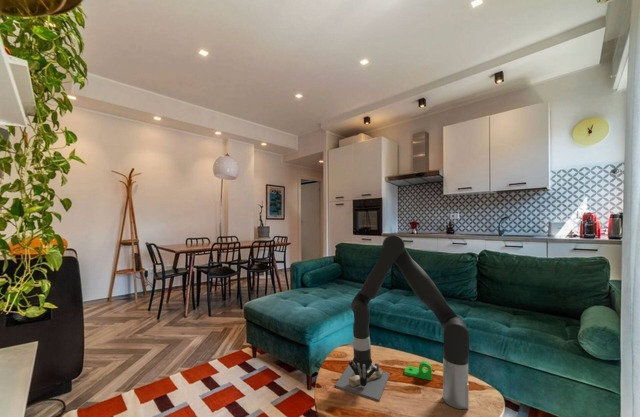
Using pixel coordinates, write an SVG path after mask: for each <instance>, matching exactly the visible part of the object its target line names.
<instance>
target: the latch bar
mask: <svg viewBox="0 0 640 417" xmlns="http://www.w3.org/2000/svg"><path fill="white" fill-rule="evenodd" d="M374 365H377V369H376V371H375V372H374V373H373V374H372V375H371V376H370V378H367V381H369V380H372V379H375V378H380V377H381V376H382V371H383V369H382V368H380V365H379V363H378V362H375V363H374ZM369 372H370V370H369V371H367V373H369ZM349 384H350V385H351V386H352V387H354V386H357V385H359V384H360V377H359V375H355V376H352V377H350V378H349Z"/></svg>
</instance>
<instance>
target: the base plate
mask: <svg viewBox="0 0 640 417" xmlns="http://www.w3.org/2000/svg"><path fill="white" fill-rule="evenodd" d="M367 371H368V370H367ZM355 375H356V374H355V373H354V371H353V370H352V368H351V367H350V365H349V364H347V367H346V368H345V370H344V371H343V372H342V374H341V375H340V376H339V378H338V380H337V381H336V383H335V384H334V388H337V389H340V390H343V391H346V392H349V393H352V394H355V395H358V396H361V397H364V398H367V399H369V400H373V401H376V402H380V401H381V398H382V396H383V393H384V390H385V388H386V386H387V384H388V380H389V378H390V375H391V373H390V372H387V371H383V370H382V376H381V377H380V378H375V379H372V380H369V381H367V384H366V385H365V387H364V386H361V384H359V385H357V386H354V387H352V386H351V385H350V384H349V378H350V377H352V376H355Z"/></svg>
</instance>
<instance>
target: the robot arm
mask: <svg viewBox="0 0 640 417" xmlns="http://www.w3.org/2000/svg"><path fill="white" fill-rule="evenodd" d="M394 264H395V265H396V266H397V267H398V269H399V271H400V272H401V274H402V275H403V278H404V279H405V280H406V282H407V284H408V286H409V287H410V288H411V290H412V292H413V293H414V295H416V298H418V299H419V300H420V302H422V303H423V304H424V305H425V306H426V307H427V308H429V310H430V311H431V312H432V313H433V315H434V316H435V317H436V319H437V320H438V322H439V324H440V326H441V328H442V331H443V350H442V376H443V377H442V397H443V401H444V402H445V403H446V404H447V405H448V406H450V407H452V408H454V409H458V410H469V408H470V407H469V398H470V396H469V394H470V392H469V391H470V390H469V359H470V358H469V357H470V333H469V331H468V328H467V325H466V323H465V321H463V319H461V318H460V316H459V315H458V314H457V313H456V312H455V311H454V309H453V308H452V307H451V306H450V305H449V303H448V302H447V301H446V299H445V297H444V296H443V294H442V292H441V291H440V290H439V288H438V286H437V285H436V284H435V283H434V281H433V280H432V278H431V277H430V276H429V274H427V272H426V271H425V270H424V269H423V268H422V267H421V266H420V265H419V264H418V263H417V262H416V261H415V260H414V259H413V258H412V256H411V255H410V253H409V252H408V250H407V248H406V245H405V241H404V239H403V238H402V237H401V236H398V235H396V234H391V235H388V236H386V237H385V238H384V239H383V241H382V249H381V252H380V255H379V257H378V259H377V261H376V262H375V265H374V266H373V268H372V269H371V271H370V272H369V274H368V275H367V277H366V278H365V281H364V283H363V284H362V286H361V288H360V290H359V291H358V292H357V294H356V295H355V296H354V297H353V299H352V302H351V305H350V308H351V310H352V313H353V319H354V320H353V321H354V322H353V323H352V325H353V326H352V331H353V334H352V335H353V339H352V347H353V348H352V350H353V358H352V359H350V360H349V362H348V365H350V367H351V368H352V370H353V371H354V373H355V374H356V375H359V377H360V384H361V386H364V387H365V385H366V384H367V378H370V376H371V375H372V374H373V373H374V372H375V371H376V369H377V365H375V363H373V360H371V359H372V351H371V350H372V349H371V337H370V327H369V326H370V320H371V318H370V315H371V313H370V312H371V311H370V307H369V303H370V302H371V300H374V299H375V298H376V297H377V295H378V293H379V292H380V289H381V287H382V285H383V283H384V282H385V280H386V277H387V275H388V274H389V271H390V270H391V267H393V265H394ZM370 366H371V370H370V372H369V373H367V370H368V368H369V367H370Z"/></svg>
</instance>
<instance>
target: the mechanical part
mask: <svg viewBox="0 0 640 417" xmlns="http://www.w3.org/2000/svg"><path fill="white" fill-rule="evenodd" d="M432 370H433V369H432V365H431V363H429V362H428V361H425V360H423V361H420V362H419V365H418V367H416V366H412V365H411V366H408V365H407V366H406V367H404V375H405V376H409V377H414V378H419V379H423V380H428V381H432V380H433V376H432V374H433V371H432Z"/></svg>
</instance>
